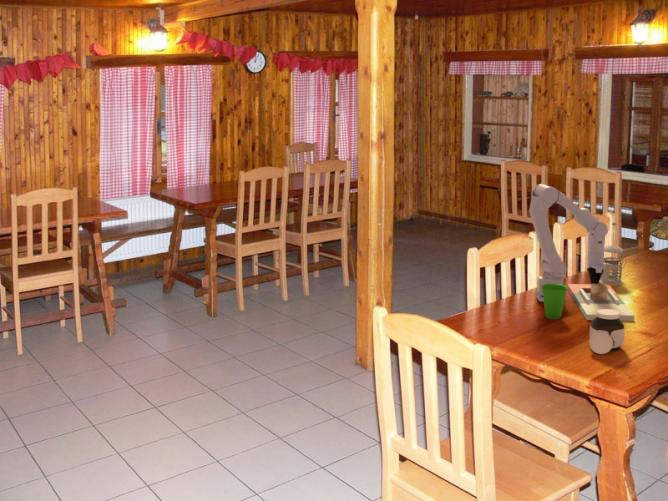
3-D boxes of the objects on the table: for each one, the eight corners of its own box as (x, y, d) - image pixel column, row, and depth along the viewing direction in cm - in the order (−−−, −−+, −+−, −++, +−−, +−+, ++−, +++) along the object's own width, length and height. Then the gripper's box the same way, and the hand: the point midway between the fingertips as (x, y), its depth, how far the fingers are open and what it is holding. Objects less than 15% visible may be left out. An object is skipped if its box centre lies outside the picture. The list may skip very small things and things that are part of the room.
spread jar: (617, 343, 266) (619, 308, 264) (630, 355, 255) (633, 318, 253) (580, 344, 266) (582, 309, 263) (592, 356, 255) (594, 319, 252)
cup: (537, 318, 293) (538, 288, 290) (543, 312, 301) (544, 282, 298) (563, 322, 289) (564, 291, 286) (569, 315, 296) (570, 285, 294)
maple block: (593, 300, 307) (593, 287, 306) (590, 296, 312) (591, 283, 311) (607, 300, 307) (607, 287, 306) (604, 296, 312) (605, 284, 311)
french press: (593, 281, 343) (596, 221, 337) (614, 277, 347) (618, 218, 342) (610, 286, 334) (613, 225, 329) (632, 283, 339) (636, 222, 333)
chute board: (586, 320, 290) (587, 310, 290) (567, 288, 331) (567, 280, 330) (634, 321, 289) (634, 311, 288) (608, 289, 329) (609, 280, 329)
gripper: (611, 256, 308) (609, 291, 311) (603, 248, 322) (601, 282, 325) (591, 256, 308) (589, 291, 311) (584, 247, 323) (582, 281, 325)
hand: (594, 286), depth 318 cm, fingers closed
